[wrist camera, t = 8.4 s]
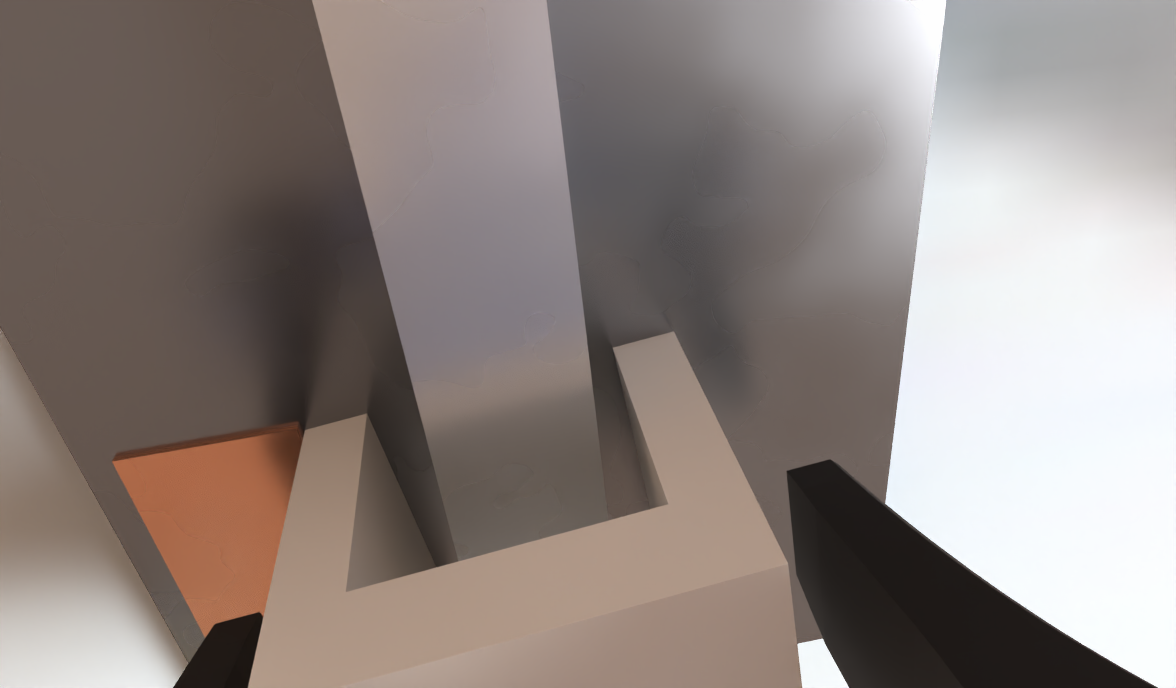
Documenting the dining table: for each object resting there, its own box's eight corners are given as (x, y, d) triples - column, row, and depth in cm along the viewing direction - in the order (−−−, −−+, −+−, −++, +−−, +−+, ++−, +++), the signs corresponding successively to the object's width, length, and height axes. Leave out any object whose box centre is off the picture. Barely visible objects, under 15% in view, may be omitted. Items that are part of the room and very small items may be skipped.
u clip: (673, 331, 12) (787, 563, 8) (709, 527, 14) (813, 785, 10) (305, 430, 12) (242, 714, 8) (398, 612, 14) (384, 906, 10)
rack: (995, -814, 7) (1273, -1142, 5) (851, 596, 17) (921, 721, 14) (-512, -728, 6) (-1101, -1085, 4) (249, 718, 16) (217, 873, 13)
